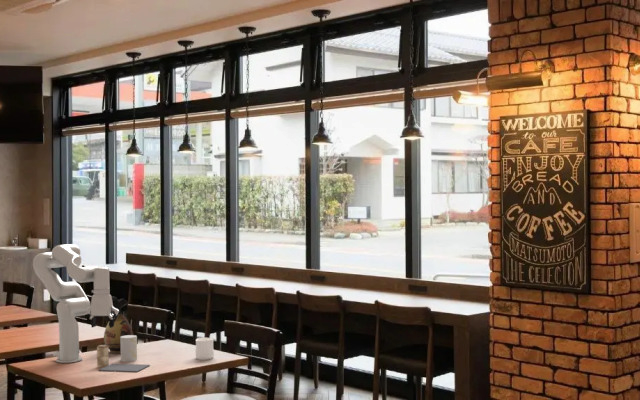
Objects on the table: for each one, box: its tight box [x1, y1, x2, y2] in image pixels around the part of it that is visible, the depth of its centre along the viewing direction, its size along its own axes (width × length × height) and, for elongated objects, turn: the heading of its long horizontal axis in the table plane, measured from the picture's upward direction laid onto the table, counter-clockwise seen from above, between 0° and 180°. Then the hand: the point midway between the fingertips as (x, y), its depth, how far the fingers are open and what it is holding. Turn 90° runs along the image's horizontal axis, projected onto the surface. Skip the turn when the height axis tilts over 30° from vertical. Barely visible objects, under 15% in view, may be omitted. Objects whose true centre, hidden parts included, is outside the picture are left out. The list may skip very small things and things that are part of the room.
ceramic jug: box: [103, 296, 134, 354], centre depth 423 cm, size 17×15×30 cm
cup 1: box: [120, 334, 138, 363], centre depth 401 cm, size 8×8×12 cm
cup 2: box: [195, 337, 215, 361], centre depth 403 cm, size 10×10×10 cm
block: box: [96, 344, 110, 368], centre depth 387 cm, size 4×4×10 cm
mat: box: [98, 363, 151, 373], centre depth 381 cm, size 20×14×1 cm
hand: (102, 327), depth 387 cm, fingers open, 9 cm apart
